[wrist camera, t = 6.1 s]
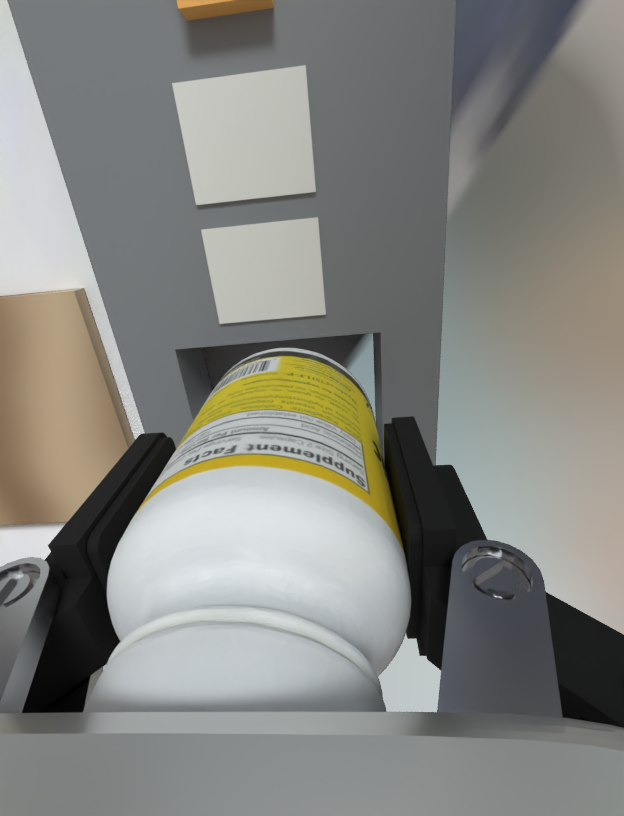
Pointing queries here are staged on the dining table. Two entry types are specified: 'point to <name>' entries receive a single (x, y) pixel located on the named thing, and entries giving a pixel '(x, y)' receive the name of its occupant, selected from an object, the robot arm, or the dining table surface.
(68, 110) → the grey panel with buttons
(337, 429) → the supplement bottle
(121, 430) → the cork mat
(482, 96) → the dining table surface
